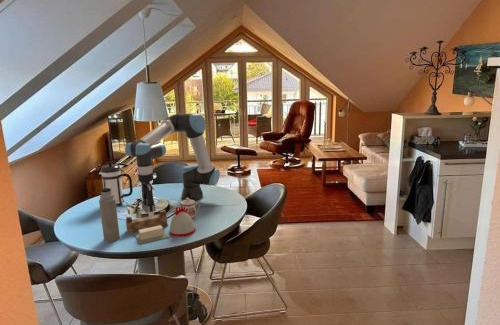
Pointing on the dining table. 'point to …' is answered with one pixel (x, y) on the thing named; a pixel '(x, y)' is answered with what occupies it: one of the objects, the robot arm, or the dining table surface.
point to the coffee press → (115, 181)
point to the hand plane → (146, 222)
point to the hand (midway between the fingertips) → (149, 214)
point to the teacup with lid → (190, 207)
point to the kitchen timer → (181, 223)
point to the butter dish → (151, 234)
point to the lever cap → (145, 207)
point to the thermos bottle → (109, 216)
